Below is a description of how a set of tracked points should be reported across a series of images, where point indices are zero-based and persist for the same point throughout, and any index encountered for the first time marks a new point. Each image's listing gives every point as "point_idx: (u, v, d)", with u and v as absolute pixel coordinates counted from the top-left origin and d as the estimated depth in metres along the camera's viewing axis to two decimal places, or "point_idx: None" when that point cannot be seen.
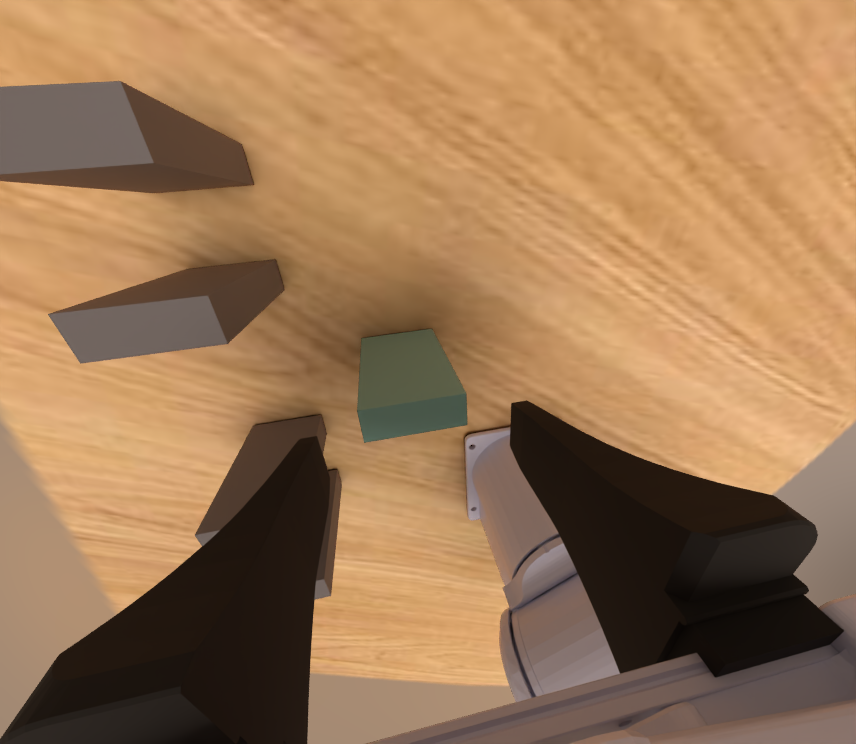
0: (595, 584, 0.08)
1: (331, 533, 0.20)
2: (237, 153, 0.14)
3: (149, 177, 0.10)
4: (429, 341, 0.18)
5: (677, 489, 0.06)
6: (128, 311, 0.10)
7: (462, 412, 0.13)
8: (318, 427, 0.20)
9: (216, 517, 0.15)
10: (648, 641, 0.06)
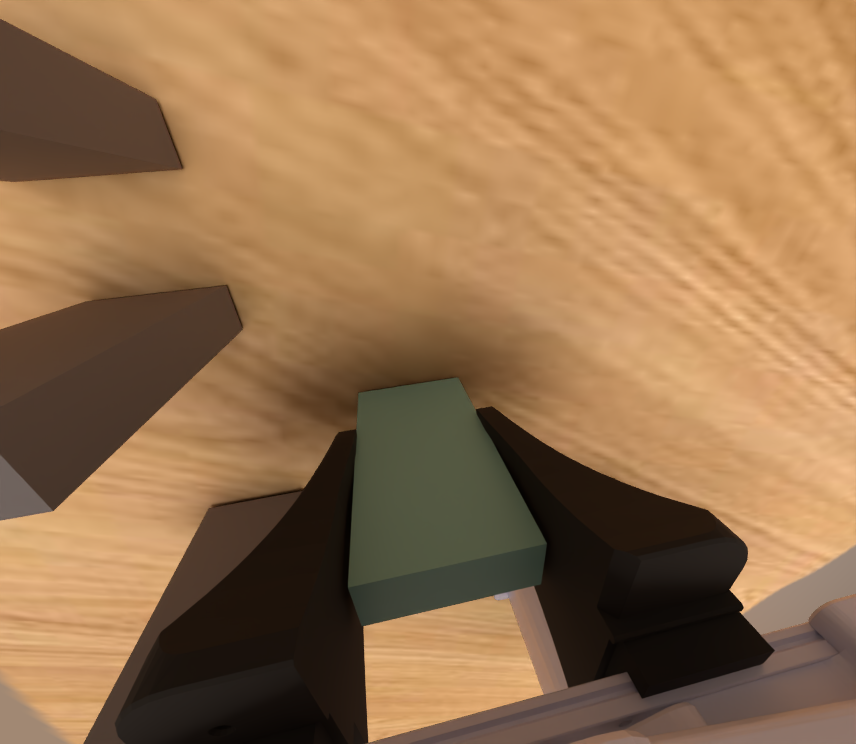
0: (546, 596, 0.08)
1: None
2: (141, 111, 0.08)
3: None
4: (458, 403, 0.12)
5: (616, 502, 0.06)
6: None
7: (535, 570, 0.07)
8: None
9: None
10: (587, 657, 0.06)
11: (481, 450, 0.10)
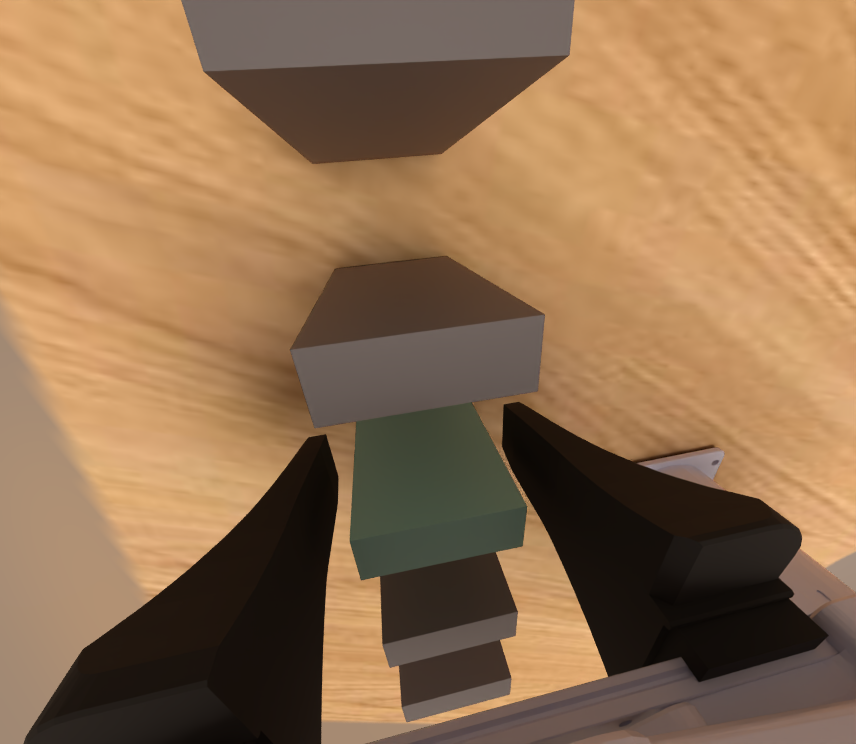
0: (584, 587, 0.08)
1: None
2: None
3: (420, 116, 0.06)
4: None
5: (663, 492, 0.06)
6: (418, 342, 0.05)
7: (517, 532, 0.08)
8: None
9: (399, 612, 0.11)
10: (634, 645, 0.06)
11: (472, 430, 0.11)
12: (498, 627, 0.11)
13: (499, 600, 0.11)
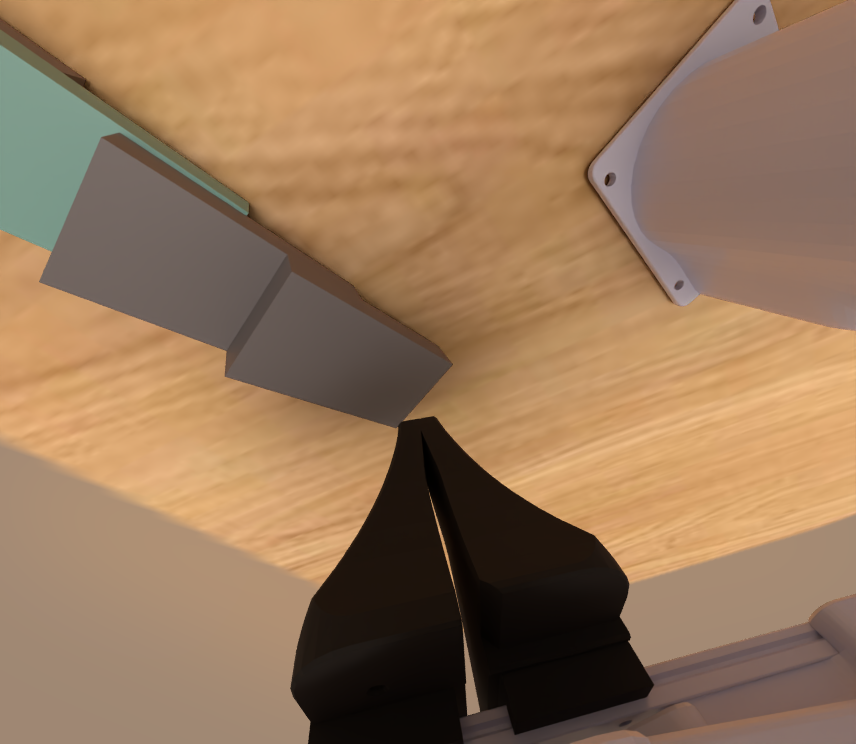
0: (463, 616, 0.08)
1: (361, 303, 0.12)
2: None
3: None
4: None
5: (511, 524, 0.06)
6: None
7: None
8: (328, 270, 0.13)
9: None
10: (482, 685, 0.06)
11: None
12: None
13: None
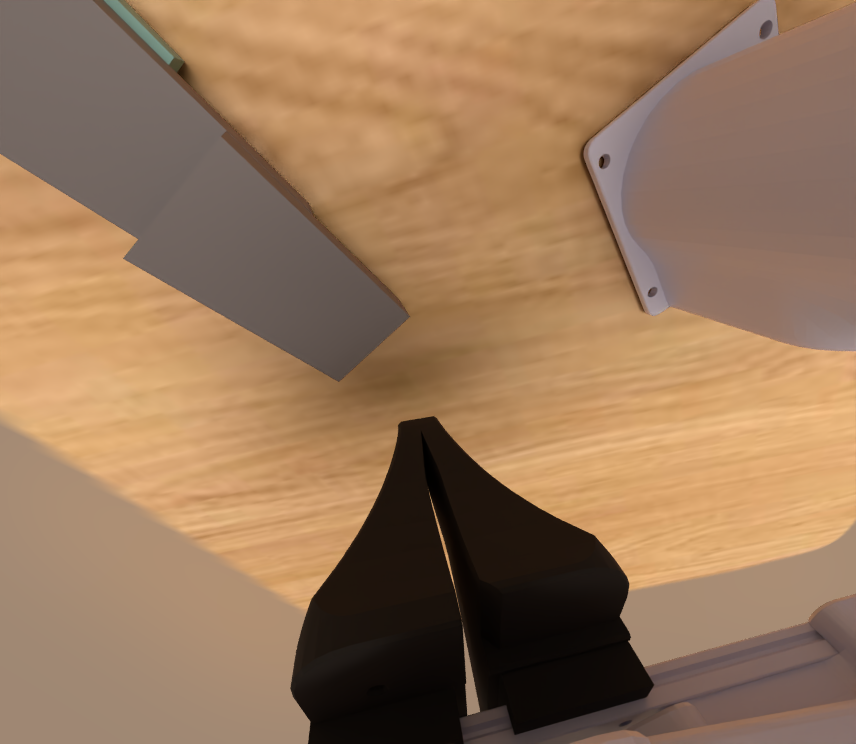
0: (463, 616, 0.08)
1: (312, 218, 0.11)
2: None
3: None
4: None
5: (511, 524, 0.06)
6: None
7: None
8: None
9: None
10: (483, 685, 0.06)
11: None
12: None
13: None
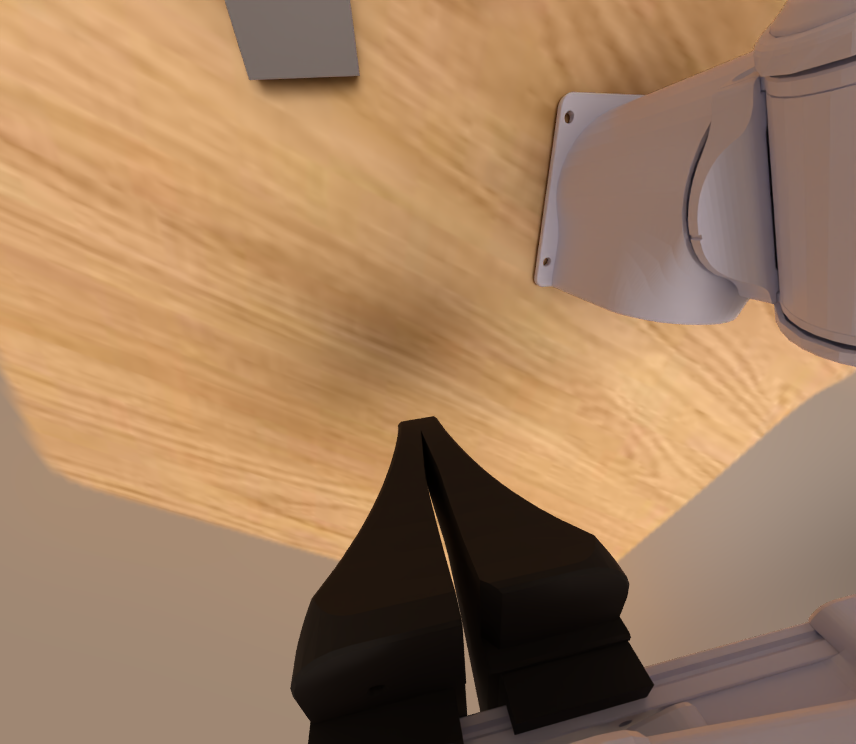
0: (463, 616, 0.08)
1: None
2: None
3: None
4: None
5: (511, 524, 0.06)
6: None
7: None
8: None
9: None
10: (482, 685, 0.06)
11: None
12: None
13: None
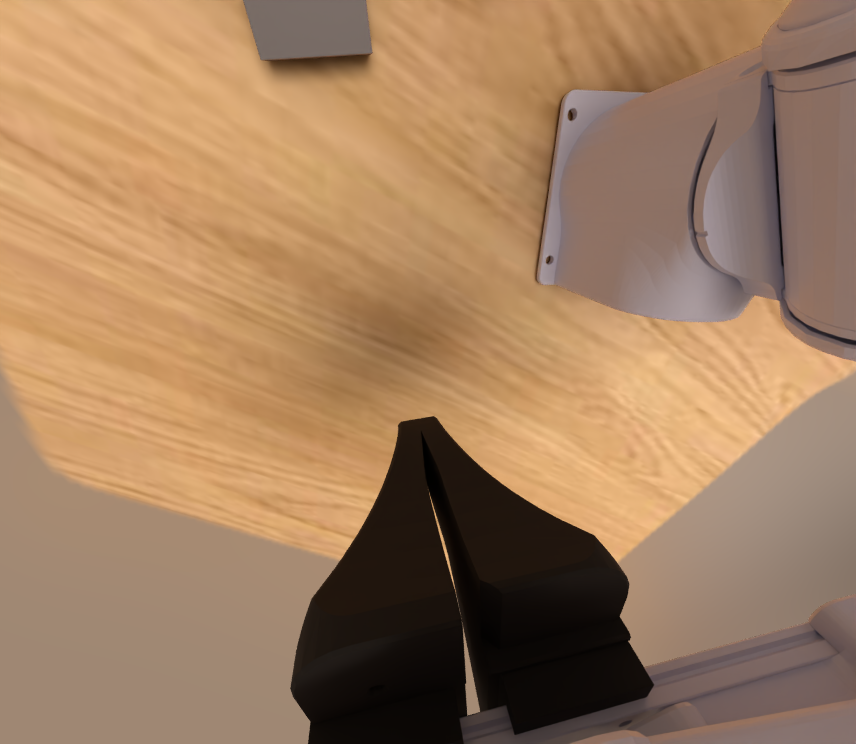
0: (463, 616, 0.08)
1: None
2: None
3: None
4: None
5: (511, 524, 0.06)
6: None
7: None
8: None
9: None
10: (483, 685, 0.06)
11: None
12: None
13: None
